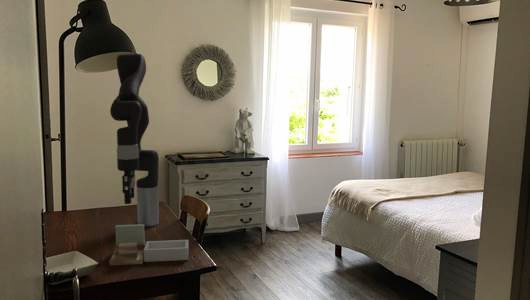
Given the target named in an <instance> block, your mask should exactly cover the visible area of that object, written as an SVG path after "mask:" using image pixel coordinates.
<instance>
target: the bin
mask: <svg viewBox="0 0 530 300" xmlns="http://www.w3.org/2000/svg"><path fill="white" fill-rule="evenodd" d="M145 242H146V245H145V248H144V261H143V263H144V262H145V263H147V262H169V261H171V262H172V261H174V262H175V261H188V260H189V243H190V242H189V239H178V240H177V239H174V240H173V239H172V240H171V239H170V240H148V241H145Z"/></svg>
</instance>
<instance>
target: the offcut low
mask: <svg viewBox="0 0 530 300" xmlns="http://www.w3.org/2000/svg"><path fill="white" fill-rule="evenodd" d="M137 257H138V249H137V253H127V254H119V250H117V251H116V253H115V261H125V260H137Z"/></svg>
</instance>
